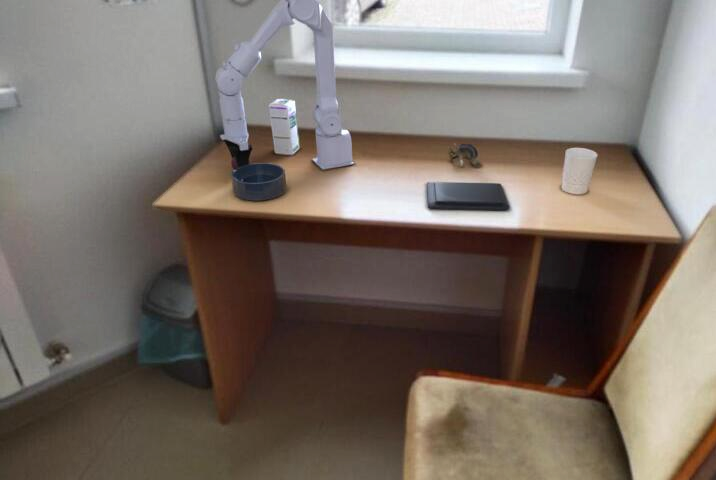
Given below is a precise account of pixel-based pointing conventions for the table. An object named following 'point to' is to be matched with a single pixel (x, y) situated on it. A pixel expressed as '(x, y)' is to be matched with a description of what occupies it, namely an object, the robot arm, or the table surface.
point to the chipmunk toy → (465, 154)
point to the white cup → (578, 170)
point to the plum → (235, 163)
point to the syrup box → (284, 126)
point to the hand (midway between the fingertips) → (241, 167)
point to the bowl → (258, 181)
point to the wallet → (466, 196)
